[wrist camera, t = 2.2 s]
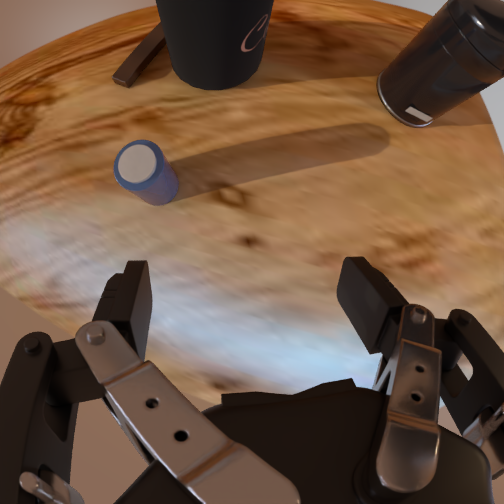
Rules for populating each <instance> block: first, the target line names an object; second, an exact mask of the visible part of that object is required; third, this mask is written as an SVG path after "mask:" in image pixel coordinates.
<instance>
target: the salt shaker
mask: <svg viewBox="0 0 504 504" xmlns="http://www.w3.org/2000/svg"><path fill="white" fill-rule="evenodd" d="M114 175H115V178H116V180H117V182H118V183H119V184H120V185H121V186H122V187H123V188H125V189H126V190H128V191H129V192H131V193H133V194H134V195H136V196H137V197H139V198H140V199H142V200H143V201H145V202H147V203H148V204H150V205H154V206H160V205H164V204H166V203H168V202H170V201H171V200H172V199H173V198H174V196H175V195H176V193H177V191H178V186H179V181H178V177H177V175H176V173H175V172H174V170H173V168H172V167H171V165H170V164H169V162H168V160H167V159H166V157H165V156H164V154H163V152H162V151H161V149H160V148H159V147H158V146H157V145H156V144H155V143H153V142H151V141H148V140H137V141H133V142H131V143H129V144H127V145H126V146H125V147H123V148H122V149H121V151H120V152H119V153H118V155H117V157H116V159H115V162H114Z"/></svg>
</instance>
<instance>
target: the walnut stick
mask: <svg viewBox="0 0 504 504" xmlns="http://www.w3.org/2000/svg"><path fill="white" fill-rule="evenodd" d="M165 44H166V39H165V36H164V32H163V28H162V24H161V22H160V23H159V24H158V25H157V26H156V27H155V28H154V29H153V30H152V31H151V32H150V33H149V34H148V35H147V36H146V37H145V39H144V40H143V41H142V42H141V43H140V44H139V45H138V46H137V47H136V48H135V50H134V51H133V52H132V53H131V54H130V55H129V56H128V58H127V59H126V60H125V61H124V62H123V64H122V65H121V66H120V67H119V68H118V70H117V71H116V72H115V73H114V75H113V76H112V79H113V80H114V82H115V83H117V84H119V85H122V86H124V87H127V88H130V86H131V85H132V84H133V82H134V81H135V80H136V79H137V77H138V76H139V75H140V74H141V72H142V71H143V70H144V69H145V67H146V66H147V65H148V64H149V63H150V61H151V60H152V59H153V58H154V57H155V56H156V54H157V53H158V52H159V51H160V50H161V49H162V48H163V47H164V45H165Z"/></svg>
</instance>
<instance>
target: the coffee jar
mask: <svg viewBox="0 0 504 504" xmlns="http://www.w3.org/2000/svg"><path fill="white" fill-rule="evenodd" d="M273 2H274V0H156V4H157V8H158V12H159V16H160V20H161V24H162V28H163V32H164V36H165V39H166V43H167V47H168V51H169V55H170V59H171V62H172V66H173V70H174V72H175V73H176V74H177V75H178V77H179V78H180V79H181V80H183V81H184V82H186V83H188V84H189V85H191V86H193V87H196V88H200V89H204V90H223V89H227V88H231V87H235V86H237V85H239V84H241V83H243V82H245V81H246V80H248V79H249V78H250V77H251V76H252V75H253V74H254V73H255V72H256V71H257V69H258V67H259V64H260V62H261V59H262V54H263V49H264V44H265V39H266V35H267V30H268V25H269V20H270V16H271V11H272V6H273Z"/></svg>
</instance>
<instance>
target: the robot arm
mask: <svg viewBox="0 0 504 504" xmlns="http://www.w3.org/2000/svg"><path fill="white" fill-rule="evenodd" d="M503 77H504V2H503V1H500V0H448V1H447V2H446V3H445V4H444V5H443V7H442V8H441V9H440V10H439V11H438V12H437V13H436V14H435V15H434V16H433V17H432V19H431V20H430V21H429V22H428V23H427V24H426V25H425V26H424V27H423V28H422V29H421V30H420V32H419V33H418V34H417V35H416V36H415V37H414V38H413V39H412V40H411V41H410V42H409V44H408V45H407V46H406V47H405V48H404V49H403V50H402V51H401V52H400V53H399V55H398V56H397V57H396V58H395V59H394V60H393V61H392V62H391V63H390V64H389V66H388V67H387V68H386V69H384V70H383V71H382V72H381V73H380V75H379V76H378V79H377V91H378V95H379V97H380V99H381V101H382V103H383V105H384V106H385V108H386V109H387V110H388V112H389V113H390V114H391V115H392V116H393V117H394V118H396V119H397V120H398V121H400V122H401V123H403V124H405V125H407V126H410V127H414V128H421V127H425V126H427V125H428V124H430V123H431V122H432V121H433V120H435V119H436V118H438V117H440V116H441V115H443V114H445V113H446V112H448V111H450V110H451V109H453V108H454V107H456V106H458V105H459V104H461V103H462V102H464V101H466V100H467V99H469V98H471V97H472V96H474V95H475V94H477V93H479V92H480V91H482V90H484V89H485V88H487V87H489V86H490V85H492V84H493V83H495V82H496V81H498V80H500V79H501V78H503ZM337 299H338V301H339V303H340V305H341V307H342V308H343V310H344V312H345V313H346V315H347V316H348V318H349V320H350V321H351V323H352V325H353V327H354V328H355V330H356V332H357V333H358V335H359V337H360V338H361V340H362V342H363V343H364V345H365V347H366V349H367V350H368V352H369V354H375V353H380V352H381V353H382V354H383V355H382V357H381V359H380V362H379V365H378V369H377V373H376V377H375V380H374V384H373V387H372V389H368V388H361V387H356V385H355V383H354V381H353V379H352V378H350V379H344V380H339V381H333V382H327V383H322V384H320V385H317V386H315V387H312V388H310V389H307V390H305V391H302V392H300V393H297V394H293V395H286V394H275V393H265V392H244V393H229V394H221V401H222V404H219V405H215V406H213V407H210V408H208V409H206V410H204V411H202V412H200V411H199V410H198V409H197V408H196V407H195V406H194V405H192V403H191V402H190V401H189V400H188V399H187V398H186V397H185V396H184V395H183V394H182V393H181V392H180V391H179V390H178V389H177V388H176V387H175V386H174V385H173V384H172V383H171V382H170V381H169V380H168V379H167V378H166V376H165V375H164V374H163V373H162V372H161V371H160V370H159V369H158V368H157V367H156V366H155V364H154V363H152V362H151V361H149V360H147V361H145V362H144V359H145V352H146V345H147V338H148V331H149V325H150V319H151V312H152V291H151V284H150V276H149V268H148V262H147V261H146V260H141V261H128V262H127V265H126V267H125V270H124V273H116V274H114V275H113V276H112V277H111V278H110V279H109V280H108V281H107V283H106V286H105V288H104V291H103V293H102V296H101V298H100V301H99V303H98V306H97V309H96V311H95V314H94V316H93V319H92V322H89V323H86V324H85V325H83V326H82V327H81V328H80V329H79V330H78V331H77V333H76V335H75V338H74V339H70V340H65V341H60V342H55V343H53V342H52V340H51V338H50V336H49V335H48V334H46V333H43V332H32V333H29V334H27V335H25V336H24V337H23V338H21V339H20V341H19V342H18V343H17V345H16V347H15V350H14V352H13V354H12V357H11V359H10V362H9V364H8V367H7V369H6V372H5V374H4V377H3V379H2V382H1V385H0V504H85V503H84V500H83V498H82V496H81V495H80V493H79V492H77V490H75V489H74V488H73V487H71V486H70V471H71V459H72V449H73V440H74V432H75V425H76V418H77V411H78V405H79V402H84V401H89V400H94V399H99V398H101V399H102V401H103V402H104V404H105V405H106V407H107V408H108V410H109V411H110V413H111V414H112V416H113V417H114V418H115V420H116V421H117V423H118V424H119V426H120V427H121V429H122V430H123V431H124V433H125V434H126V436H127V437H128V438H129V440H130V441H131V443H132V444H133V446H134V447H135V449H136V450H137V451H138V453H139V454H140V455H141V457H142V458H143V459H144V460H145V462H146V463H147V464H148V465H149V466H148V467H147V468H146V470H145V471H144V472H143V473H142V474H141V475H140V476H139V477H138V478H137V479H136V480H135V482H134V483H133V484H132V485H131V486H130V487H129V488H128V489H127V490H126V491H125V492H124V493H123V494H122V495H121V496H120V497H119V498H118V499H117V500H116V502H115V503H114V504H495V503H494V499H493V493H492V480H495V479H497V478H498V477H499V476H501V475H502V474H503V473H504V353H503V351H502V350H501V349H500V347H499V346H498V345H497V344H496V342H495V341H494V340H493V339H492V337H491V336H490V335H489V334H488V333H487V331H486V330H485V329H484V328H483V327H482V325H481V324H480V323H479V322H478V321H477V319H476V318H475V317H474V316H473V315H472V314H470V313H469V312H467V311H465V310H462V309H454V310H452V311H451V312H450V314H449V316H448V319H437V318H434V315H433V314H432V313H431V311H429V310H428V309H427V308H425V307H423V306H421V305H418V304H409V303H408V302H407V300H406V299H405V298H404V297H403V296H402V295H401V293H400V292H399V291H398V290H397V289H396V288H395V287H394V285H393V284H392V283H391V282H389V280H388V278H387V277H386V276H385V275H384V274H383V273H382V272H380V271H379V270H377V269H375V268H374V267H372V266H371V265H370V263H369V262H368V261H367V260H366V259H365V258H364V257H362V256H360V257H346V258H345V259H344V261H343V265H342V269H341V274H340V278H339V282H338V286H337ZM463 353H464V355H465V356H466V357H467V359H468V360H469V362H470V363H471V365H472V367H473V375H472V377H471V378H470V380H469V381H468V380H467V378H466V376H465V375H464V373H463V372H462V370H461V369H460V367H459V366H458V364H457V362H458V360H459V359H460V357H461V355H462V354H463ZM440 396H441V398H442V400H443V402H444V403H445V405H446V407H447V409H448V411H449V413H450V414H451V416H452V418H453V420H454V422H455V424H456V426H457V428H458V429H459V431H460V433H461V435H462V437H461V436H459V435H457V434H455V433H453V432H451V431H449V430H448V429H446V428H444V427H442V426H440V425H438V414H439V403H440Z"/></svg>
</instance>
